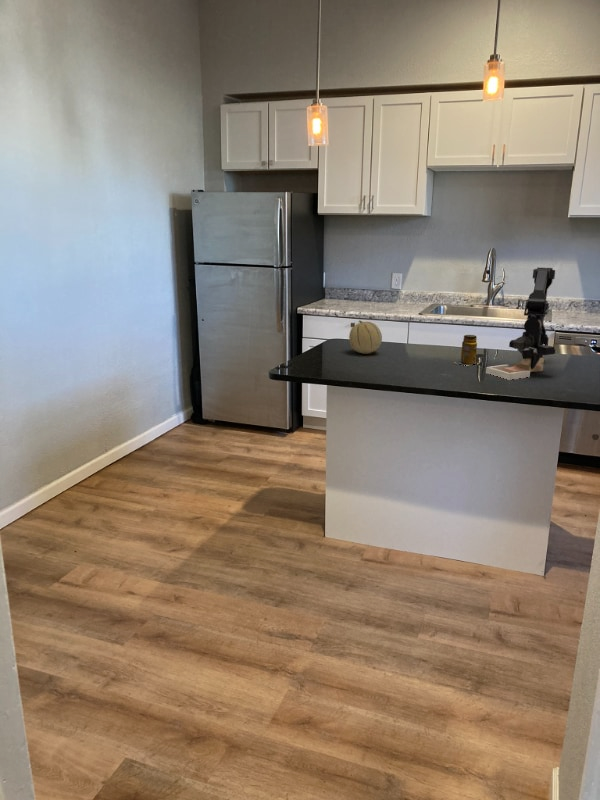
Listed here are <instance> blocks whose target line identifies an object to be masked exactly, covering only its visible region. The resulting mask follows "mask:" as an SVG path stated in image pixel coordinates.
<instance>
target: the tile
mask: <svg viewBox="0 0 600 800" xmlns="http://www.w3.org/2000/svg"><path fill="white" fill-rule="evenodd" d="M503 371H505V372H508V373H513V372H520V371H526V369H522V368H519V367H515V366H514V365H513V366H509V367H506V368H503Z"/></svg>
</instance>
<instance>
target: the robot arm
mask: <svg viewBox="0 0 600 800" xmlns="http://www.w3.org/2000/svg"><path fill="white" fill-rule="evenodd" d="M532 271H533V272H532V279H533V280H534V281H533V282H534V288H533V292H531V293H530V294H529V296H528V298H527V299H526V301H525V307H524V313H523V316H526V321H524V325H523V327H524V330H525V331H523V332H522V335H521V336H519V337H518V338H515V339H511V340H510V341H509V345H508V347H509V348H512V349H514V350H517V352H519V353H520V354H521V356H522V359H527V358H531V369H534V367H535V365H536V364H537V362H538V361H539V359H540V358H543V356H549V355H556V348H555V346H553V345H549V337H548V334H547V328H546V327H545V325H544V321H545V317H546V315H548V311H549V305H550V304H549V301H548V300H547V297H548V295H547V294H548V289H549V288H550V287H551V286H552V284H553V281H554V280H555V279H556V278H555V277H556V269H553V267H539V266H538V267H537V268H533V270H532ZM545 362H546V360H545V359H544V363H545Z"/></svg>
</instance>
